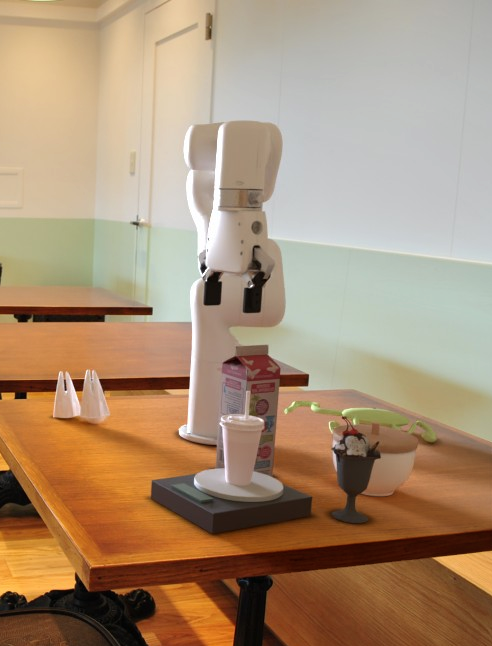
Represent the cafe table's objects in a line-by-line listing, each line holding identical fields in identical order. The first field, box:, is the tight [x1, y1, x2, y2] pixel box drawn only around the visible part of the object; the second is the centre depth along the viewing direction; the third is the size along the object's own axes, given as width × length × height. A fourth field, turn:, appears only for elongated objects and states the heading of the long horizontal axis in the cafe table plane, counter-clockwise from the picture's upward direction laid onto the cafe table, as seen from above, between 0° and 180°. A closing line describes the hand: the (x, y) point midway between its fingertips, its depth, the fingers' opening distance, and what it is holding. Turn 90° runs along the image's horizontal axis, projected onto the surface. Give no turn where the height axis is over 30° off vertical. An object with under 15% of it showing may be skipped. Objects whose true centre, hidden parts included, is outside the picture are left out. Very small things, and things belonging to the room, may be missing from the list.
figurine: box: [283, 400, 437, 443], centre depth 167 cm, size 18×27×6 cm
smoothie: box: [220, 391, 264, 486], centre depth 124 cm, size 6×6×14 cm
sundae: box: [330, 416, 381, 524], centre depth 121 cm, size 7×7×15 cm
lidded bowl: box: [331, 422, 419, 497], centre depth 134 cm, size 13×13×11 cm
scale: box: [150, 468, 313, 535], centre depth 125 cm, size 18×15×4 cm
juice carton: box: [215, 344, 281, 477], centre depth 139 cm, size 7×7×22 cm
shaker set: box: [52, 369, 111, 425], centre depth 172 cm, size 12×4×11 cm, turn 53°
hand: (231, 308), depth 134 cm, fingers open, 9 cm apart
